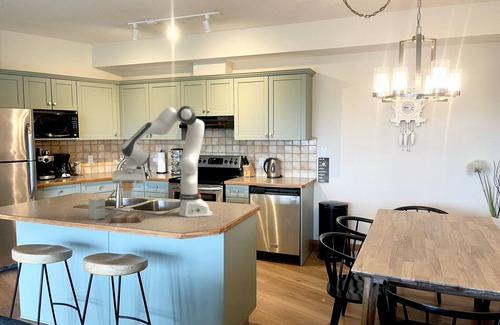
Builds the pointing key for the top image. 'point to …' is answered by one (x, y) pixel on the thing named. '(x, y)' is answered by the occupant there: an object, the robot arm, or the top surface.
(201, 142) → the robot arm
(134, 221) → the walnut stand
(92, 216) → the supplement box
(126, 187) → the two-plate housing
